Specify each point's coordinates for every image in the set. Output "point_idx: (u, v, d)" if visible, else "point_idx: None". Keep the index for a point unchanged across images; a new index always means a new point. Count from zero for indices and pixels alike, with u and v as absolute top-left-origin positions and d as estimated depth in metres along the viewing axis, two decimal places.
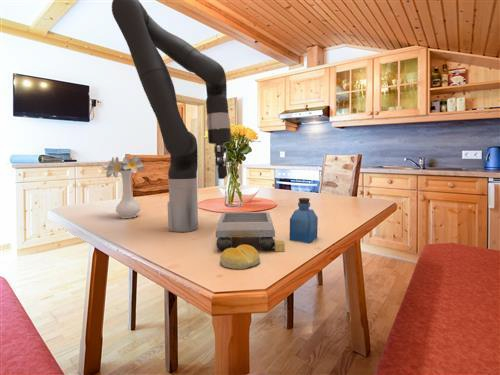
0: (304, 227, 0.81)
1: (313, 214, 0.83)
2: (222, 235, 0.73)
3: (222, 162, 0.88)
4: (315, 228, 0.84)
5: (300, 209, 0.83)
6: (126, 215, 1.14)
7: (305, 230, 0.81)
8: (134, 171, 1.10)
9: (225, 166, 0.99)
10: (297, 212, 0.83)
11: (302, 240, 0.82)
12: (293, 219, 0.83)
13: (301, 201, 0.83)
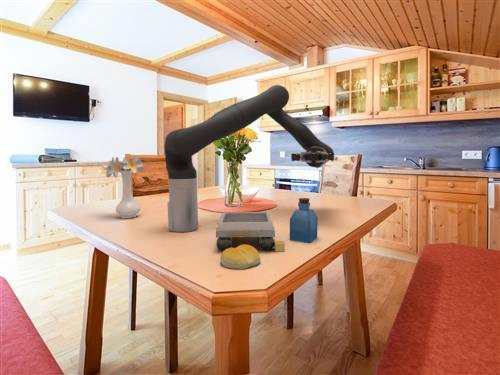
0: (304, 227, 0.81)
1: (313, 214, 0.83)
2: (222, 235, 0.73)
3: None
4: (315, 228, 0.84)
5: (300, 209, 0.83)
6: (126, 215, 1.14)
7: (305, 230, 0.81)
8: (134, 171, 1.10)
9: (299, 159, 0.97)
10: (297, 212, 0.83)
11: (302, 240, 0.82)
12: (293, 219, 0.83)
13: (301, 201, 0.83)
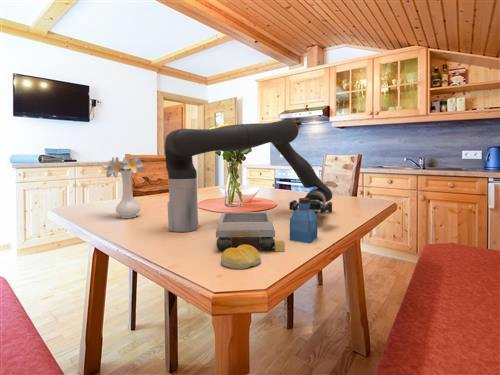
0: (304, 227, 0.81)
1: (313, 214, 0.83)
2: (222, 235, 0.73)
3: None
4: (315, 228, 0.84)
5: (300, 209, 0.83)
6: (126, 215, 1.14)
7: (305, 230, 0.81)
8: (134, 171, 1.10)
9: None
10: (297, 212, 0.83)
11: (302, 240, 0.82)
12: (293, 219, 0.83)
13: (301, 201, 0.83)
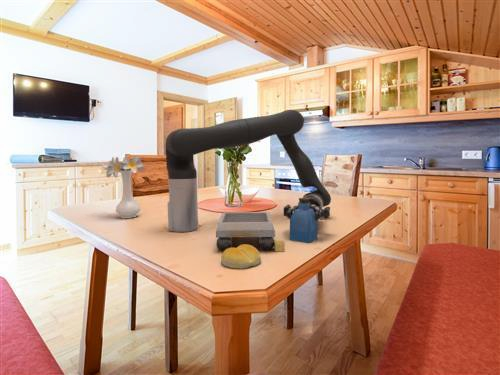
0: (304, 227, 0.81)
1: (313, 214, 0.83)
2: (222, 235, 0.73)
3: (328, 216, 0.85)
4: (315, 228, 0.84)
5: (300, 209, 0.83)
6: (126, 215, 1.14)
7: (305, 230, 0.81)
8: (134, 171, 1.10)
9: None
10: (297, 212, 0.83)
11: (302, 240, 0.82)
12: (293, 219, 0.83)
13: (301, 201, 0.83)
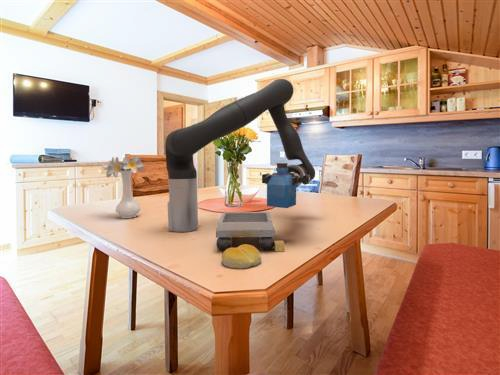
0: (281, 192, 0.78)
1: (291, 179, 0.80)
2: (222, 235, 0.73)
3: (307, 182, 0.82)
4: (293, 194, 0.81)
5: (278, 174, 0.80)
6: (126, 215, 1.14)
7: (282, 194, 0.78)
8: (134, 171, 1.10)
9: None
10: (274, 177, 0.80)
11: (279, 205, 0.79)
12: (270, 184, 0.80)
13: (279, 165, 0.80)
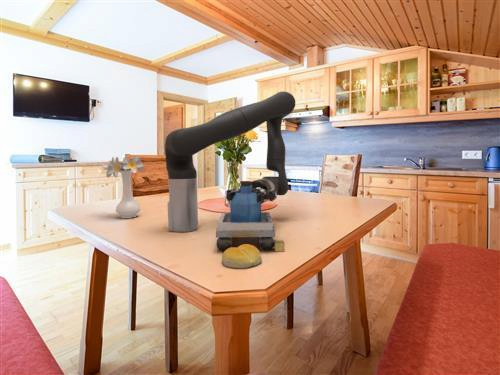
0: (243, 211, 0.77)
1: (254, 198, 0.79)
2: (222, 235, 0.73)
3: (273, 199, 0.80)
4: (258, 212, 0.79)
5: (241, 192, 0.79)
6: (126, 215, 1.14)
7: (244, 214, 0.76)
8: (134, 171, 1.10)
9: None
10: (238, 195, 0.78)
11: None
12: (234, 202, 0.78)
13: (242, 184, 0.78)
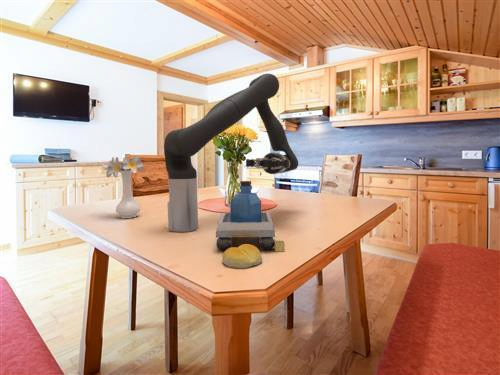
0: (243, 211, 0.77)
1: (254, 198, 0.79)
2: (222, 235, 0.73)
3: (287, 166, 0.92)
4: (258, 212, 0.79)
5: (241, 192, 0.79)
6: (126, 215, 1.14)
7: (244, 214, 0.76)
8: (134, 171, 1.10)
9: (253, 165, 0.94)
10: (238, 195, 0.78)
11: None
12: (234, 202, 0.78)
13: (242, 184, 0.78)
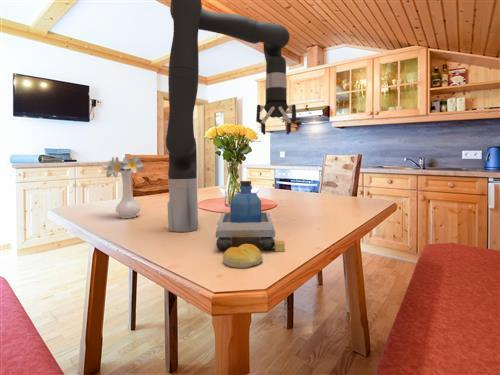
0: (243, 211, 0.77)
1: (254, 198, 0.79)
2: (222, 235, 0.73)
3: None
4: (258, 212, 0.79)
5: (241, 192, 0.79)
6: (126, 215, 1.14)
7: (244, 214, 0.76)
8: (134, 171, 1.10)
9: None
10: (238, 195, 0.78)
11: None
12: (234, 202, 0.78)
13: (242, 184, 0.78)
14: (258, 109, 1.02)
